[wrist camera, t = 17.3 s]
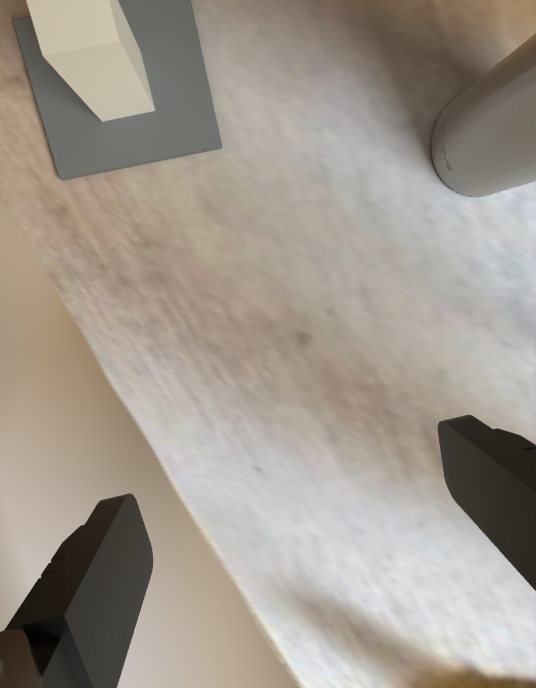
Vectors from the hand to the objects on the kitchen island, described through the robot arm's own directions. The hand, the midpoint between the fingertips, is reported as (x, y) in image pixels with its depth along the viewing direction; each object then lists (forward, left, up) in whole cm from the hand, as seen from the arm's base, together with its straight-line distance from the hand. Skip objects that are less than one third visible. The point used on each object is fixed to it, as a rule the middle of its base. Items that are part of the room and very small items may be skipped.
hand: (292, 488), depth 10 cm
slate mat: (+6, -22, -28) cm, 36 cm away
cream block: (+6, -22, -27) cm, 35 cm away
